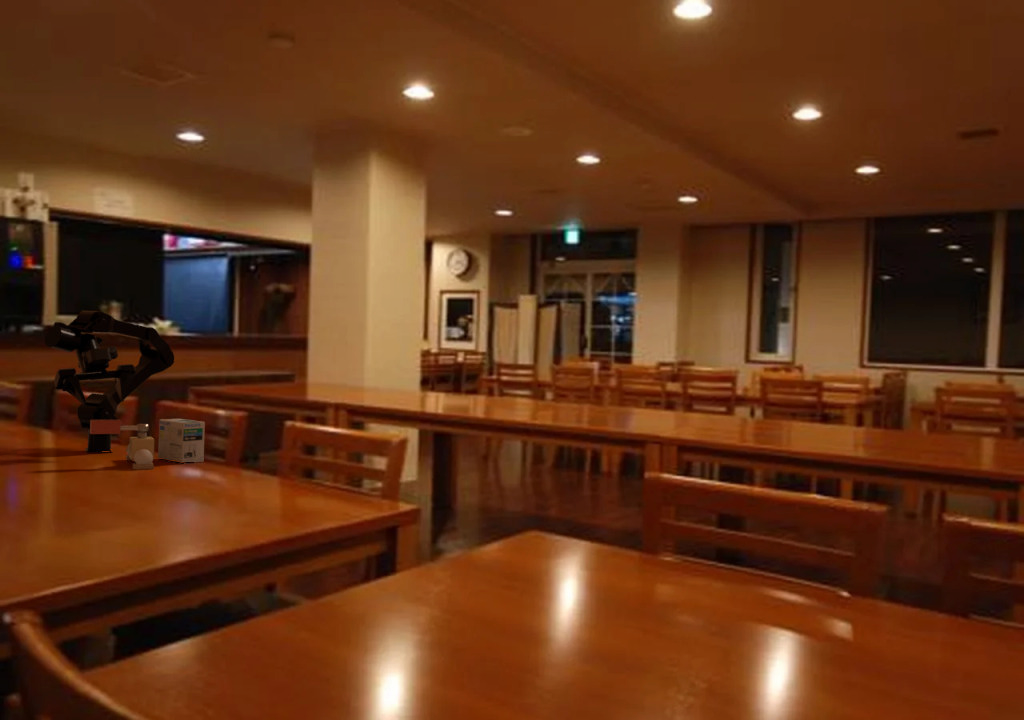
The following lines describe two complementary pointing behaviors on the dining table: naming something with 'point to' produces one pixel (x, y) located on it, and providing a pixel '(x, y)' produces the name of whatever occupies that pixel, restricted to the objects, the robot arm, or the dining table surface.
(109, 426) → the valve lever
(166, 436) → the light bulb box
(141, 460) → the valve
